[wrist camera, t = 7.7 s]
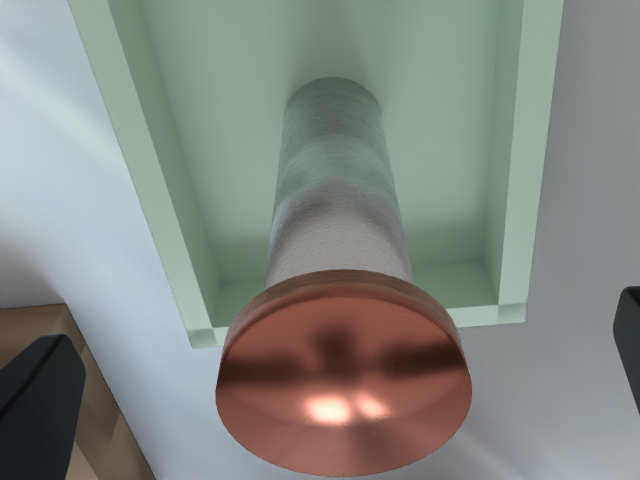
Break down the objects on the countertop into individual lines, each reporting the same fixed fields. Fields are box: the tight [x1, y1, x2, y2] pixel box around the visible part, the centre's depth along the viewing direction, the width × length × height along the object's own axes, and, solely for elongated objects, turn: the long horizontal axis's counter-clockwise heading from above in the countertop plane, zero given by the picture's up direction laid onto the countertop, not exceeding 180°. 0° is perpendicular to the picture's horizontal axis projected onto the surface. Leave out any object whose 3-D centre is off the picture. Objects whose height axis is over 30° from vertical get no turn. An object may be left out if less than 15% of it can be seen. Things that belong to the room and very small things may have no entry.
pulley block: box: [0, 304, 156, 480], centre depth 23 cm, size 12×8×4 cm, turn 7°
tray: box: [67, 0, 564, 349], centre depth 15 cm, size 12×10×3 cm
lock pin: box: [215, 77, 472, 477], centre depth 12 cm, size 4×4×9 cm
